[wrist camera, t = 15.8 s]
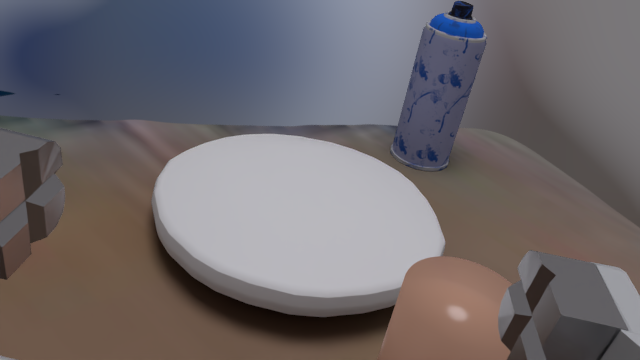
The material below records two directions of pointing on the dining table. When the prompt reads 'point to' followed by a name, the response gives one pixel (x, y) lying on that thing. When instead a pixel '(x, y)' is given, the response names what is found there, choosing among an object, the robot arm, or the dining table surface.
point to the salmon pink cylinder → (447, 313)
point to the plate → (293, 223)
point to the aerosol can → (439, 88)
